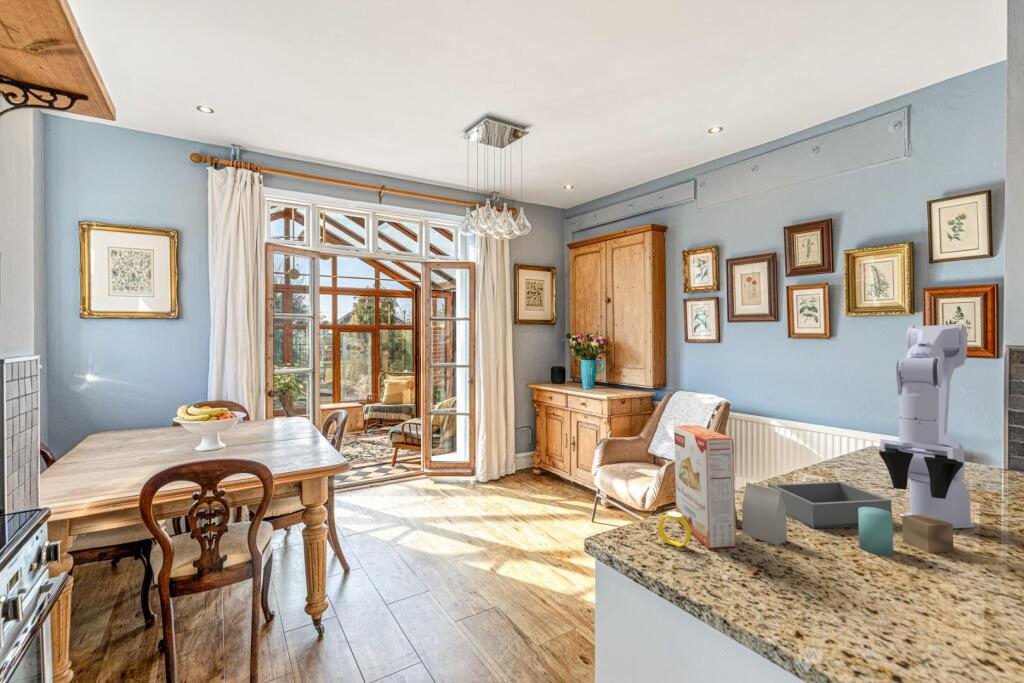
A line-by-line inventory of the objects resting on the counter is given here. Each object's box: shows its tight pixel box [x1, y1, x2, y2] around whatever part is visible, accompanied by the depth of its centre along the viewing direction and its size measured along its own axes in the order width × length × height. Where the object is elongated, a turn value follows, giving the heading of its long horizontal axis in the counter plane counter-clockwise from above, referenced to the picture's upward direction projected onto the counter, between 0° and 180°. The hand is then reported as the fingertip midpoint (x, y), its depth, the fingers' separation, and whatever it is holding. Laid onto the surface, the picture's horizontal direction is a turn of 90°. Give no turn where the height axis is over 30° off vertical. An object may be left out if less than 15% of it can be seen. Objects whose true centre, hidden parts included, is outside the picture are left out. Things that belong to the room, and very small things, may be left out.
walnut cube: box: [901, 514, 954, 554], centre depth 88 cm, size 5×5×5 cm
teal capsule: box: [858, 507, 894, 557], centre depth 86 cm, size 5×5×7 cm
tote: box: [769, 480, 893, 530], centre depth 104 cm, size 18×14×5 cm
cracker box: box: [673, 424, 737, 549], centre depth 95 cm, size 14×6×21 cm, turn 5°
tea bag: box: [741, 482, 788, 546], centre depth 93 cm, size 4×7×10 cm, turn 33°
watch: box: [657, 511, 692, 548], centre depth 90 cm, size 6×3×6 cm, turn 46°
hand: (918, 493), depth 88 cm, fingers open, 7 cm apart
